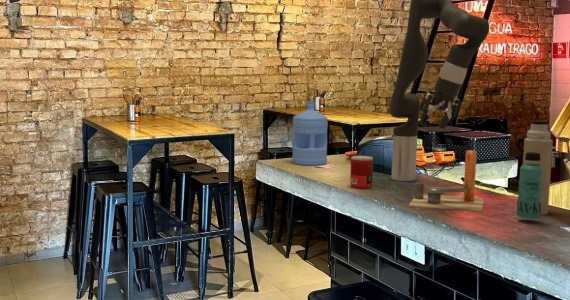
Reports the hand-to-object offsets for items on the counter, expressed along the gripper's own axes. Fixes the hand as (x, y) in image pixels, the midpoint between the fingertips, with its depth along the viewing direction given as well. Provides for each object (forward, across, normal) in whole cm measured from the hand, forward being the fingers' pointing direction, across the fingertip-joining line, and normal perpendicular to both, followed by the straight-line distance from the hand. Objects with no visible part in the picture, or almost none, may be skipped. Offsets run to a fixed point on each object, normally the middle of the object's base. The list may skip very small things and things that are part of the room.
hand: (431, 126), depth 205 cm
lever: (+21, -10, +10) cm, 25 cm away
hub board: (+22, -10, +9) cm, 26 cm away
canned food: (+34, -3, -24) cm, 42 cm away
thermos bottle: (+13, -24, +30) cm, 40 cm away
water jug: (+49, -19, -79) cm, 95 cm away
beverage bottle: (+13, -12, +37) cm, 41 cm away
